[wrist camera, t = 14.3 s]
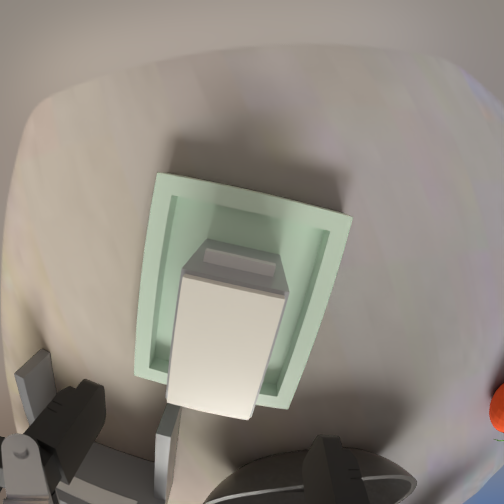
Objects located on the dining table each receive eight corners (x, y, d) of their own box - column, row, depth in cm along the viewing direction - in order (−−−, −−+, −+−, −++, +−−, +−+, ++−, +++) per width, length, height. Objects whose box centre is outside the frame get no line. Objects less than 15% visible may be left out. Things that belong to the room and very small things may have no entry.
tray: (342, 212, 21) (353, 217, 18) (285, 391, 24) (287, 409, 22) (168, 172, 20) (157, 172, 18) (143, 359, 24) (134, 375, 22)
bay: (183, 398, 25) (155, 485, 15) (172, 483, 29) (156, 546, 19) (41, 348, 24) (-16, 402, 15) (61, 443, 28) (30, 493, 18)
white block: (282, 246, 21) (294, 283, 13) (253, 354, 23) (251, 423, 15) (208, 229, 20) (180, 258, 13) (188, 340, 22) (163, 404, 15)
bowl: (196, 439, 26) (186, 486, 20) (410, 415, 25) (432, 455, 19) (216, 495, 29) (211, 533, 23) (389, 476, 28) (401, 511, 22)
